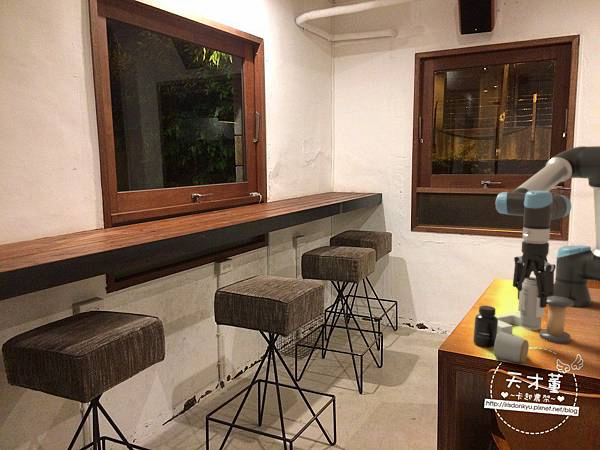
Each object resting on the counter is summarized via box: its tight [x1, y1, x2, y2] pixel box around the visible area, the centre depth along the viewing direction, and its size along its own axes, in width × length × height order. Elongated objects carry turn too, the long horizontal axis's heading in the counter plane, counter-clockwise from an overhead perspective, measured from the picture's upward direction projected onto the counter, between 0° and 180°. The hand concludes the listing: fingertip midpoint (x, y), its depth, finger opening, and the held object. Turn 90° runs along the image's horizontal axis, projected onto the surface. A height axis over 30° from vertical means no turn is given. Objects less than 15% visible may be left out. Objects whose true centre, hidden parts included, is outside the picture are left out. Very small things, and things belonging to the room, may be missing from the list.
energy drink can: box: [519, 276, 542, 328], centre depth 155 cm, size 6×6×15 cm
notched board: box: [494, 311, 542, 335], centre depth 172 cm, size 18×10×3 cm, turn 113°
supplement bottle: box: [473, 305, 498, 348], centre depth 157 cm, size 7×7×12 cm
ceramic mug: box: [493, 332, 530, 364], centre depth 146 cm, size 11×8×8 cm
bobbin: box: [539, 296, 574, 344], centre depth 162 cm, size 9×9×13 cm
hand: (530, 313), depth 156 cm, fingers closed on energy drink can, 6 cm apart
